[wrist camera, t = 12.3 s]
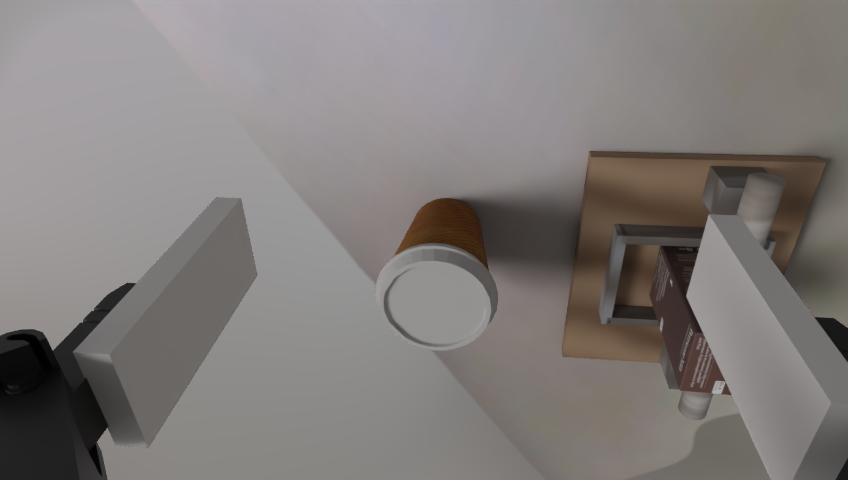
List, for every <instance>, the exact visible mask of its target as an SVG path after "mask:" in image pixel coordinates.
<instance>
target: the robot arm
mask: <svg viewBox="0 0 848 480" xmlns="http://www.w3.org/2000/svg"><path fill="white" fill-rule="evenodd" d="M256 277H257V271H256V266H255V262H254V257H253V252H252V248H251V243H250V238H249V233H248V229H247V224H246V219H245V215H244V210H243V205H242V200H241V198H218V197H217V198H215V199H214V201H212V203H211V204H210V205H209V206H208V207H207V208H206V209H205V210H204V211H203V212H202V213H201V215H199V217H198V218H197V219H196V220H195V221H194V222H193V223H192V224H191V225H190V226H189V227H188V228H187V230H186V231H185V232H184V233H183V234H182V235H181V236H180V237H179V238H178V239H177V240H176V241H175V243H174V244H173V245H172V246H171V247H170V248H169V249H168V250H167V251H166V252H165V253H164V254H163V255H162V257H161V258H160V259H159V260H158V261H157V262H156V263H155V264H154V265H153V266H152V267H151V268H150V269H149V271H148V272H147V273H146V274H145V275H144V276H143V277H142V278H141V279H140V280H139V281H138V282H137V283H126V284H124V285H123V286H121V287H119V288H118V289H116V290H115V291H113V292H111V293H110V294H108V295H107V296H106V297H105V298H104V299H103V300H102V301H101V302H100V303H99V304H98V305H97V306H96V307H95V308H94V311H91V312H90V313H89V314H88V315H87V316H86V317H85V318H84V320H83V323H80V324H79V325H78V326H77V327H76V328H75V329H74V330H73V331H72V332H71V333H70V334H69V335H68V336H67V337H66V338H65V339H64V340H63V341H62V342H61V343H60V344H59V345H58V346H57V347H56V348H55V349H54V350H53V351H52V349H51V347H50V345H49V342H48V340H47V338H46V337H45V335H44V334H43V332H40V331H37V330H33V329H28V330H18V331H13V332H9V333H6V334H3V335H1V336H0V480H107V475H106V470H105V466H104V461H103V457H102V452H101V450H100V448H99V446H98V443H97V441H98V439H99V438H100V437H101V435H102V434H103V432H104V431H105V430H106V428H108V430H109V432H110V434H111V436H112V438H113V440H114V443H115V445H117V446H128V447H140V448H149V446H150V445H151V443H152V442H153V440H154V438H155V437H156V435H157V434H158V432H159V430H160V429H161V427H162V426H163V424H164V422H165V421H166V419H167V418H168V416H169V415H170V413H171V411H172V410H173V408H174V407H175V405H176V403H177V402H178V400H179V399H180V397H181V396H182V394H183V392H184V391H185V389H186V388H187V386H188V385H189V383H190V381H191V380H192V378H193V377H194V375H195V373H196V372H197V370H198V369H199V367H200V365H201V364H202V362H203V361H204V359H205V358H206V356H207V354H208V353H209V351H210V350H211V348H212V346H213V345H214V343H215V342H216V340H217V339H218V337H219V335H220V334H221V332H222V331H223V329H224V327H225V326H226V324H227V323H228V321H229V320H230V318H231V316H232V315H233V313H234V312H235V310H236V308H237V307H238V305H239V304H240V302H241V301H242V299H243V297H244V296H245V294H246V293H247V291H248V289H249V288H250V286H251V285H252V283H253V281H254V280H255V278H256ZM686 297H687V299H688V301H689V304H690V306H691V308H692V310H693V312H694V314H695V317H696V319H697V321H698V323H699V325H700V327H701V330H702V332H703V334H704V336H705V338H706V340H707V343H708V345H709V347H710V349H711V351H712V353H713V356H714V358H715V360H716V362H717V364H718V366H719V369H720V371H721V373H722V375H723V377H724V379H725V381H726V384H727V386H728V388H729V390H730V392H731V394H732V397H733V399H734V401H735V403H736V405H737V407H738V410H739V412H740V414H741V416H742V418H743V420H744V422H745V425H746V427H747V429H748V431H749V433H750V436H751V438H752V440H753V442H754V444H755V446H756V448H757V451H758V453H759V455H760V457H761V459H762V462H763V464H764V466H765V468H766V470H767V472H768V474H769V477H770V479H771V480H848V328H847V327H845V326H844V325H843V324H841V323H840V322H838V321H837V320H835V319H834V318H820V317H814V316H813V315H812V314H811V312H810V311H809V310H808V308H807V307H806V305H805V304H804V303H803V301H802V300H801V299H800V297H799V296H798V295H797V293H796V292H795V291H794V289H793V288H792V287H791V285H790V284H789V283H788V281H787V280H786V278H785V277H784V276H783V274H782V273H781V272H780V270H779V269H778V268H777V266H776V265H775V264H774V262H773V261H772V260H771V258H770V257H769V256H768V254H767V253H766V251H765V250H764V249H763V247H762V246H761V245H760V243H759V242H758V241H757V239H756V238H755V237H754V235H753V234H752V233H751V231H750V230H749V228H748V227H747V226H746V224H745V223H744V222H743V220H742V219H741V218H740V216H739V215H715V214H709V215H708V219H707V222H706V226H705V230H704V233H703V237H702V241H701V244H700V248H699V252H698V255H697V259H696V262H695V266H694V270H693V273H692V277H691V281H690V284H689V288H688V291H687V295H686Z"/></svg>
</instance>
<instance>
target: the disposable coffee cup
mask: <svg viewBox="0 0 848 480" xmlns="http://www.w3.org/2000/svg"><path fill="white" fill-rule="evenodd" d="M375 291H376V300H377V304H378V307H379V310H380V313H381V316H382V318H383V320H384V322H385V324H386V325H387V327H388V328H389V329H390V330H391V331H392V332H393V333H394V334H395V335H396V336H397V337H399V338H400V339H402V340H404V341H405V342H407V343H409V344H411V345H413V346H416V347H420V348H425V349H429V350H451V349H455V348H459V347H462V346H464V345H467V344H469V343H471V342H472V341H474V340H475V339H476V338H477V337H478V336H480V335H481V334H482V333H483V331H484V330H485V328H486V327H487V325H488V324H489V323H490V322H491V321H492V318H493V316H494V314H495V312H496V310H497V303H498V293H497V288H496V284H495V282H494V280H493V278H492V276H491V274H490V273H489V269H488V264H487V259H486V254H485V249H484V243H483V238H482V233H481V227H480V222H479V219H478V217H477V215H476V213H475V212H474V211H473V210H472V209H471V208H470V207H469V206H467V205H466V204H464V203H462V202H460V201H457V200H453V199H437V200H434V201H431V202H429V203H427V204H426V205H424V206H423V207H422V208H421V209H420V210H419V212H418V213H417V215H416V217H415V219H414V221H413V222H412V224H411V226H410V228H409V230H408V231H407V233H406V235H405V237H404V239H403V241H402V242H401V244H400V246H399V248H398V250H397V252H396V254H395V256H394V257H393V258H392V259H391V260H389V261H388V262H387V264H386V265H385V266H384V268H383V269H382V270H381V272H380V274H379V276H378V279H377V283H376V289H375Z"/></svg>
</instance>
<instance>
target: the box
mask: <svg viewBox="0 0 848 480" xmlns="http://www.w3.org/2000/svg"><path fill="white" fill-rule="evenodd" d="M699 248H700V247H686V246H661V245H660V248H659V254H658V259H657V264H656V269H655V274H654V279H653V283H652V287H651V291H650V294H649V296H650V299H651V302H652V305H653V308H654V311H655V315H656V318H657V321H658V324H659V327H660V330H661V333H662V336H663V339H664V342H665V345H666V349H667V352H668V355H669V358H670V361H671V364H672V367H673V370H674V374H675V377H676V380H677V384H678V387H679V390H680V391H690V392H701V393H714V394H727V395H732V394H731V392H730V390H729V388H728V386H727V384H726V381H725V379H724V377H723V375H722V373H721V371H720V369H719V366H718V364H717V362H716V360H715V358H714V356H713V353H712V351H711V349H710V347H709V345H708V343H707V340H706V338H705V336H704V334H703V332H702V330H701V327H700V325H699V323H698V321H697V319H696V317H695V314H694V312H693V310H692V308H691V306H690V304H689V301H688V299H687V297H686V295H687V291H688V288H689V284H690V281H691V277H692V273H693V270H694V266H695V262H696V259H697V255H698V252H699Z"/></svg>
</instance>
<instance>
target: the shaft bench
mask: <svg viewBox="0 0 848 480" xmlns="http://www.w3.org/2000/svg"><path fill="white" fill-rule="evenodd" d="M825 164H826V162H825V161H823V160H822V159H821V158H820V157H810V156H767V155H724V154H681V153H638V152H596V151H589V159H588V166H587V173H586V180H585V187H584V194H583V201H582V208H581V215H580V223H579V230H578V237H577V244H576V251H575V258H574V265H573V272H572V280H571V287H570V294H569V301H568V308H567V315H566V322H565V329H564V336H563V344H562V354H563V357H575V358H591V359H607V360H623V361H640V362H656V363H661V366H662V369H663V372H664V375H665V378H666V380H667V383H668V386H669V389H679V387H678V384H677V380H676V377H675V374H674V370H673V367H672V364H671V361H670V358H669V355H668V352H667V349H666V345H665V342H664V339H663V336H662V333H661V330H660V327H659V324H658V321H657V318H656V315H655V311H654V308H653V305H652V302H651V299H650V296H649V294H650V291H651V287H652V283H653V279H654V274H655V269H656V264H657V259H658V254H659V248H660V245H661V246H686V247H700V244H701V241H702V237H703V233H704V230H705V226H706V222H707V219H708V215H709V214H715V215H739V216H740V218H741V219H742V220H743V222H744V223H745V224H746V226H747V227H748V228H749V230H750V231H751V233H752V234H753V235H754V237H755V238H756V239H757V241H758V242H759V243H760V245H761V246H762V247H763V249H764V250H765V251H766V253H767V254H768V256H769V257H770V258H771V260H772V261H773V262H774V264H775V265H776V266H777V268H778V269H779V270H780V272H781V273H782V274H783V275H784V273H785V270H786V268H787V265H788V262H789V260H790V257H791V254H792V252H793V249H794V246H795V244H796V241H797V238H798V236H799V233H800V231H801V228H802V225H803V223H804V220H805V217H806V215H807V212H808V209H809V207H810V204H811V201H812V199H813V196H814V194H815V191H816V188H817V186H818V183H819V180H820V178H821V175H822V172H823V170H824V167H825ZM712 396H713V393H701V392H690V391H682V395H681V398H680V401H679V404H678V408H679V411H680V412H681V413H682V414H683V415H684V416H686V417H687V418H690V419H693V420H701V419H703V418H704V417H705V416H706V413H707V410H708V408H709V405H710V402H711V399H712Z"/></svg>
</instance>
